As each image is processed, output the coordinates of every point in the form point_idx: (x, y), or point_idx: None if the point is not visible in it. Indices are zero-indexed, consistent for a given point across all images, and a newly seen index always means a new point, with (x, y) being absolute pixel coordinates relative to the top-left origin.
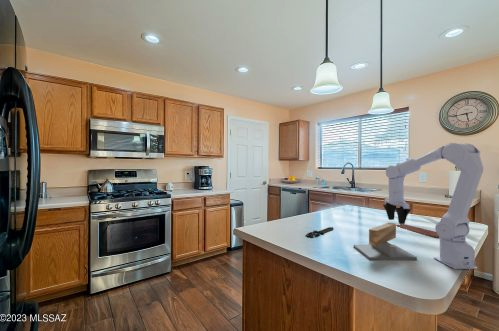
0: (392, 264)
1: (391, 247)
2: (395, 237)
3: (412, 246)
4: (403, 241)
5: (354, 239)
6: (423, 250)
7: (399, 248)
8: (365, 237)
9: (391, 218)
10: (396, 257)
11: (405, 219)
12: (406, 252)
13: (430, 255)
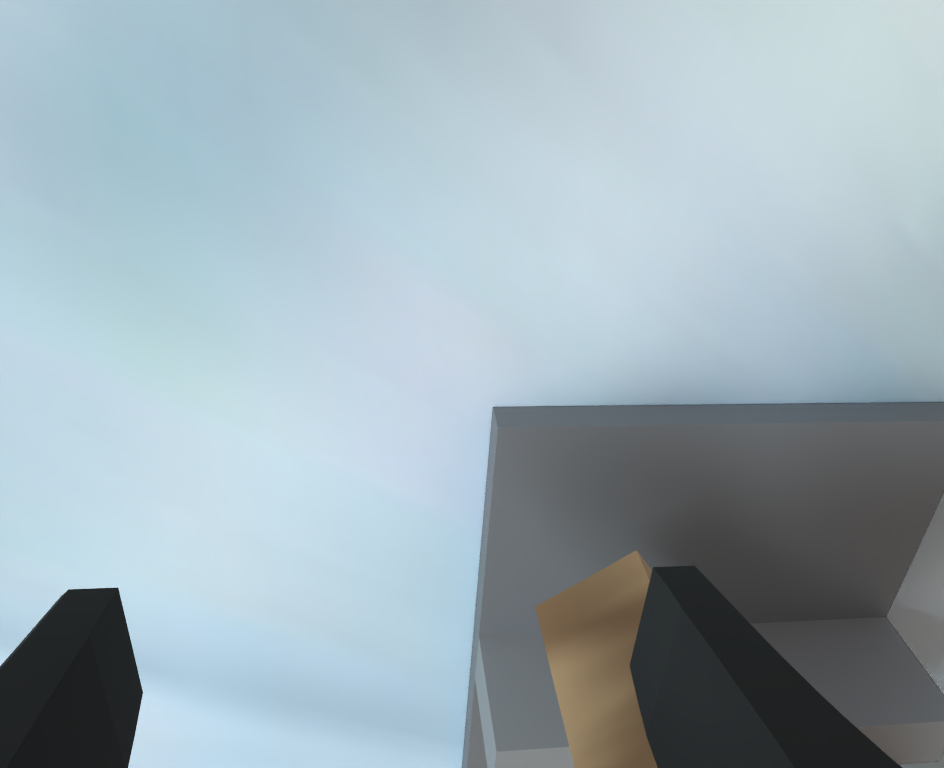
0: (934, 661)
1: (938, 748)
2: (645, 564)
3: (508, 87)
4: (192, 50)
5: (166, 725)
6: (727, 36)
7: (669, 446)
8: (28, 583)
9: (116, 682)
10: (887, 610)
11: (792, 674)
12: (819, 447)
13: (930, 104)
